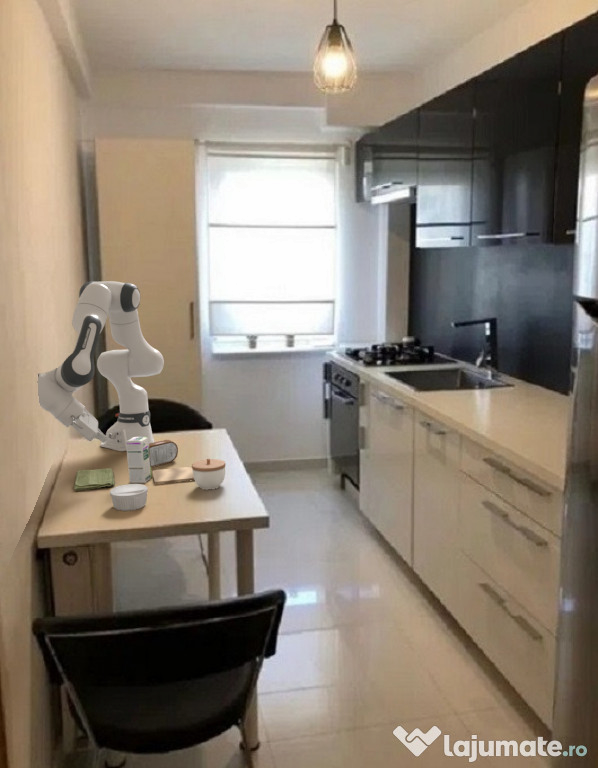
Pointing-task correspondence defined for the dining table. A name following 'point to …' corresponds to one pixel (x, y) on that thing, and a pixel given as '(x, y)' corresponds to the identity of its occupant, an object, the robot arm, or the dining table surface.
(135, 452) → the syrup box
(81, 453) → the dining table surface
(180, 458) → the dining table surface
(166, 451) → the tin
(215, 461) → the lidded jar
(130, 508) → the ramekin
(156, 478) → the cork pad
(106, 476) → the washcloth
